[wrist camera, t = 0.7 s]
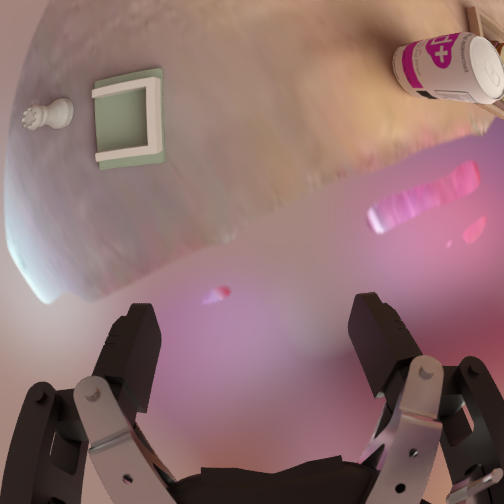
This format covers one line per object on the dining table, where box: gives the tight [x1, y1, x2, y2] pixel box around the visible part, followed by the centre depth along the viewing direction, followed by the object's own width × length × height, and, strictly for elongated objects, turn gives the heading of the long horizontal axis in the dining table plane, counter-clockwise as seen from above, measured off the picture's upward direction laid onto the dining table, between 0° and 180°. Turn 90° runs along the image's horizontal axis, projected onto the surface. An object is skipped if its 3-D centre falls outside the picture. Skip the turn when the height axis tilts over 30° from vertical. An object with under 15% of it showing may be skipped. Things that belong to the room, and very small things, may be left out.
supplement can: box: [392, 32, 504, 104], centre depth 19 cm, size 8×8×15 cm
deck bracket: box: [92, 68, 165, 170], centre depth 26 cm, size 12×9×4 cm
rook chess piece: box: [21, 98, 74, 131], centre depth 23 cm, size 4×4×8 cm
